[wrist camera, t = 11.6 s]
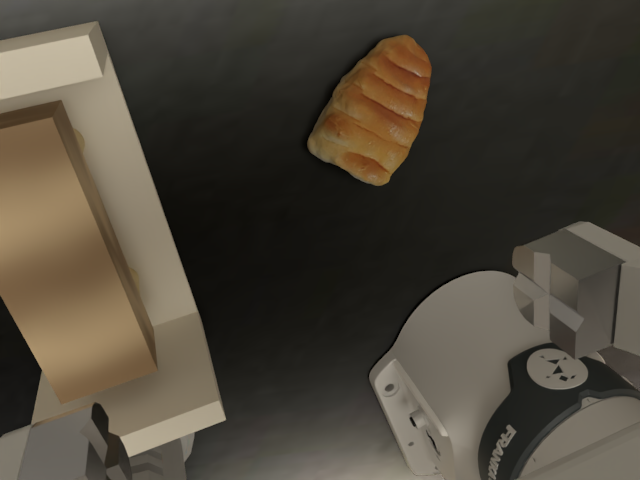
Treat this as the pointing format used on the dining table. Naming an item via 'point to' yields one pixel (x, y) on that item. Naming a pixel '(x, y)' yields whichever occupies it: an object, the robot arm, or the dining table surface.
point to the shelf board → (66, 261)
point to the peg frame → (121, 236)
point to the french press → (163, 460)
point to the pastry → (375, 111)
